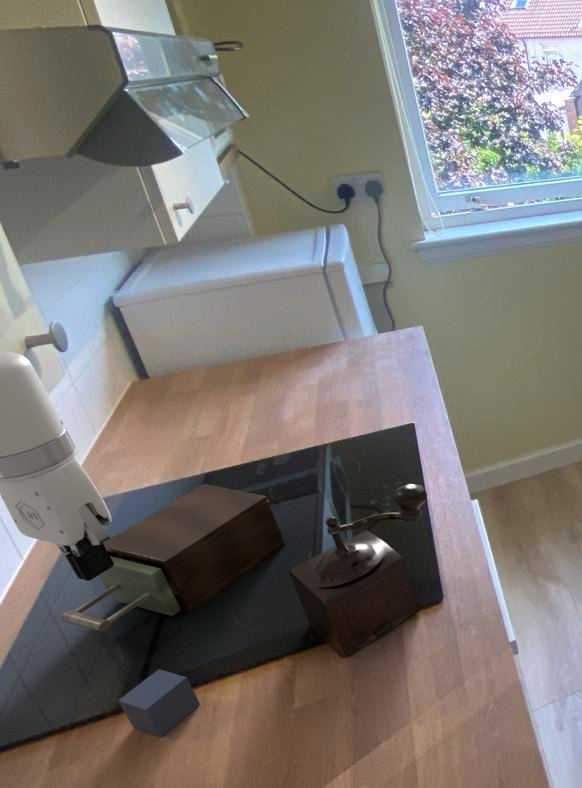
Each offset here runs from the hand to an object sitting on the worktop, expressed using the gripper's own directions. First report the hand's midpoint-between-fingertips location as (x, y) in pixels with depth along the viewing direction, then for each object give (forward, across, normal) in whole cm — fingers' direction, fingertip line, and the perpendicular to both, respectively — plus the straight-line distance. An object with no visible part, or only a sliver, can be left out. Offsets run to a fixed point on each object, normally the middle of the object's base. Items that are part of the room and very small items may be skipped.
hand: (97, 572), depth 95 cm
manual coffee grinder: (+10, +32, +12) cm, 35 cm away
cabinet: (+10, 0, +11) cm, 15 cm away
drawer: (+9, 0, +6) cm, 10 cm away
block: (+9, +20, -9) cm, 24 cm away
